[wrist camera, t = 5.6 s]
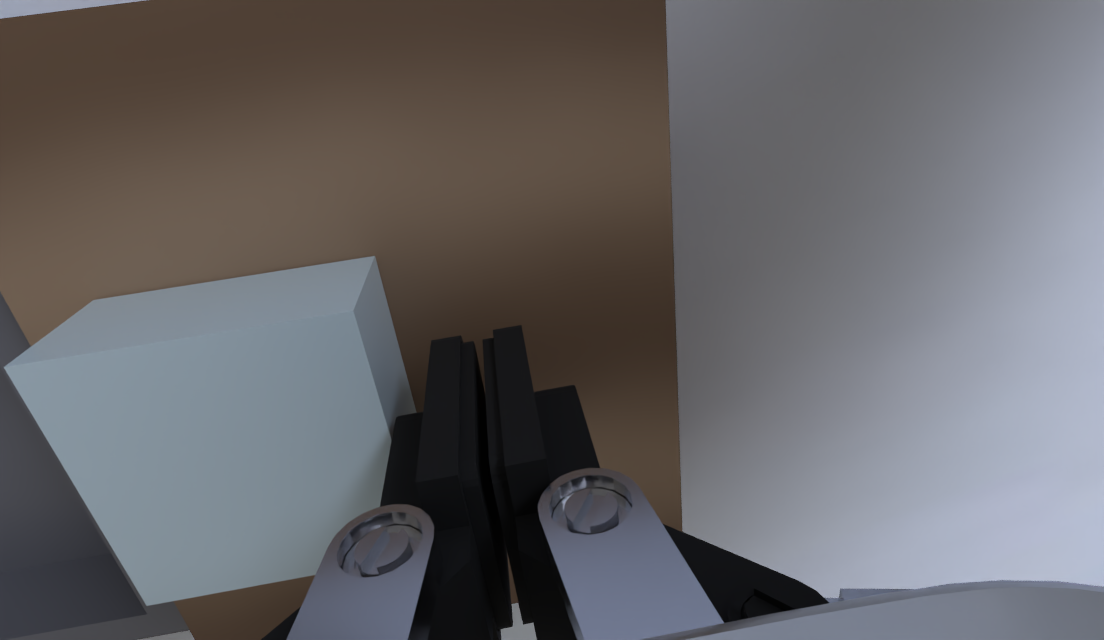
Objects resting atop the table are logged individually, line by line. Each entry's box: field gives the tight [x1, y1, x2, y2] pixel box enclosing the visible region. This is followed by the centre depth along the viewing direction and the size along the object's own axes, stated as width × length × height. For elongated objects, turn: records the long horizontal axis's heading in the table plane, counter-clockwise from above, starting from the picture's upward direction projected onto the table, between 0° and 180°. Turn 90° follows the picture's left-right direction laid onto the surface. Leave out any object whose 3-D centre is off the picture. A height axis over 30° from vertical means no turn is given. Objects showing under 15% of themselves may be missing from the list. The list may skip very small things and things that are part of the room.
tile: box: [4, 256, 417, 606], centre depth 11 cm, size 5×5×2 cm
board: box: [0, 0, 682, 640], centre depth 14 cm, size 14×12×4 cm
